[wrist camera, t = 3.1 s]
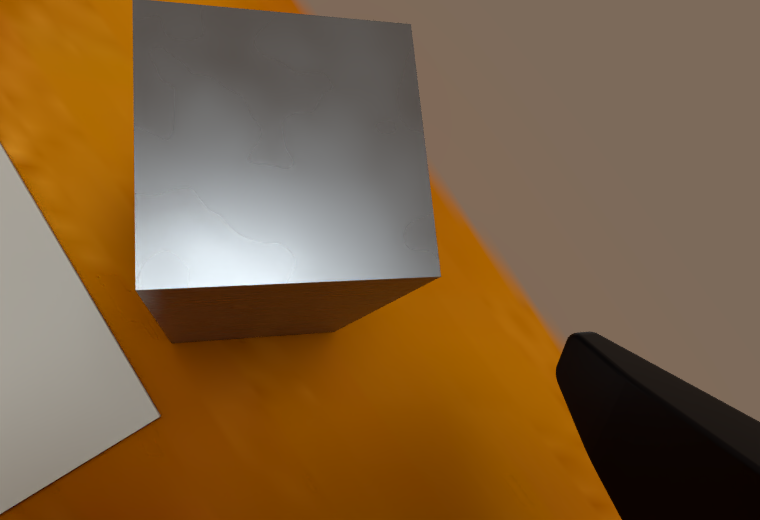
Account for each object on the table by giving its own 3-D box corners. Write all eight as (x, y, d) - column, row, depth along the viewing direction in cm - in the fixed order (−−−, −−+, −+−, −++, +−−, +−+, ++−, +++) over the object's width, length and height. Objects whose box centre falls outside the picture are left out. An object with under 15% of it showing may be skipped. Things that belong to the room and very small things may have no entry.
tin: (334, 331, 20) (440, 276, 11) (171, 343, 19) (135, 289, 9) (322, 186, 21) (410, 24, 12) (168, 185, 20) (132, -2, 11)
